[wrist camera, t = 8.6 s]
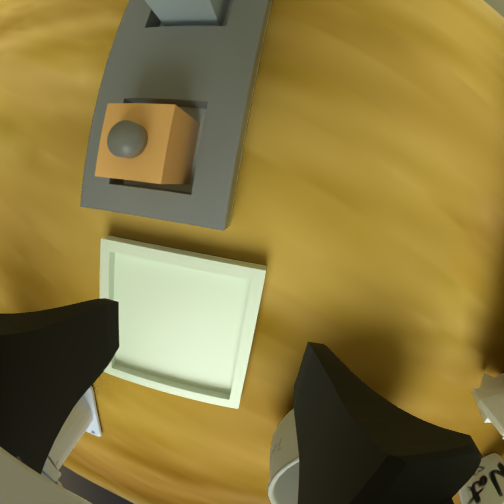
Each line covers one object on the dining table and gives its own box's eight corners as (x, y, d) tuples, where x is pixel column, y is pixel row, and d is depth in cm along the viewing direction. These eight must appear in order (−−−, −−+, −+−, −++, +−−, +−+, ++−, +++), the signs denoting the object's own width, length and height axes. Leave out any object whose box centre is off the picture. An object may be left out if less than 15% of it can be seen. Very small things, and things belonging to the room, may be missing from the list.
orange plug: (134, 177, 19) (84, 176, 13) (144, 119, 18) (98, 99, 12) (189, 184, 19) (152, 184, 13) (199, 123, 18) (168, 99, 12)
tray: (110, 365, 23) (104, 372, 22) (109, 235, 20) (101, 238, 19) (239, 399, 22) (238, 408, 21) (266, 265, 20) (266, 270, 19)
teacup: (250, 396, 22) (240, 471, 14) (379, 349, 21) (416, 416, 13) (304, 478, 25) (307, 537, 17) (401, 445, 23) (423, 501, 15)
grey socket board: (98, 203, 20) (80, 206, 17) (157, -24, 15) (147, -38, 13) (230, 225, 19) (223, 230, 17) (278, -24, 15) (277, -42, 13)
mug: (499, 436, 23) (529, 481, 13) (510, 461, 24) (532, 496, 14) (440, 483, 25) (459, 532, 15) (462, 498, 26) (478, 535, 16)
